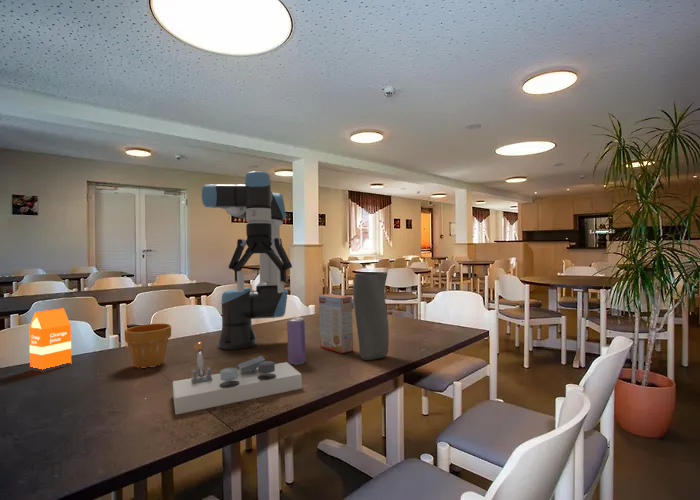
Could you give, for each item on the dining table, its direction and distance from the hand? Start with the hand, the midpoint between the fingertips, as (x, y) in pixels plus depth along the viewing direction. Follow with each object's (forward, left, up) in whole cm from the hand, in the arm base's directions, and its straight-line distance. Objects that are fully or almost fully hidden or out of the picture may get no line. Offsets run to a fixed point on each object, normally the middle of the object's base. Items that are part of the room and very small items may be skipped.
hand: (260, 292), depth 114 cm
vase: (+1, +39, -26) cm, 47 cm away
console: (+9, -9, -26) cm, 29 cm away
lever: (+6, -18, -21) cm, 28 cm away
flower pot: (-33, -31, -26) cm, 52 cm away
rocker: (+6, -4, -21) cm, 22 cm away
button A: (+13, -2, -20) cm, 24 cm away
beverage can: (-8, +14, -26) cm, 31 cm away
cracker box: (-16, +33, -26) cm, 45 cm away
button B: (+13, -12, -20) cm, 27 cm away
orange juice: (-48, -61, -26) cm, 82 cm away
